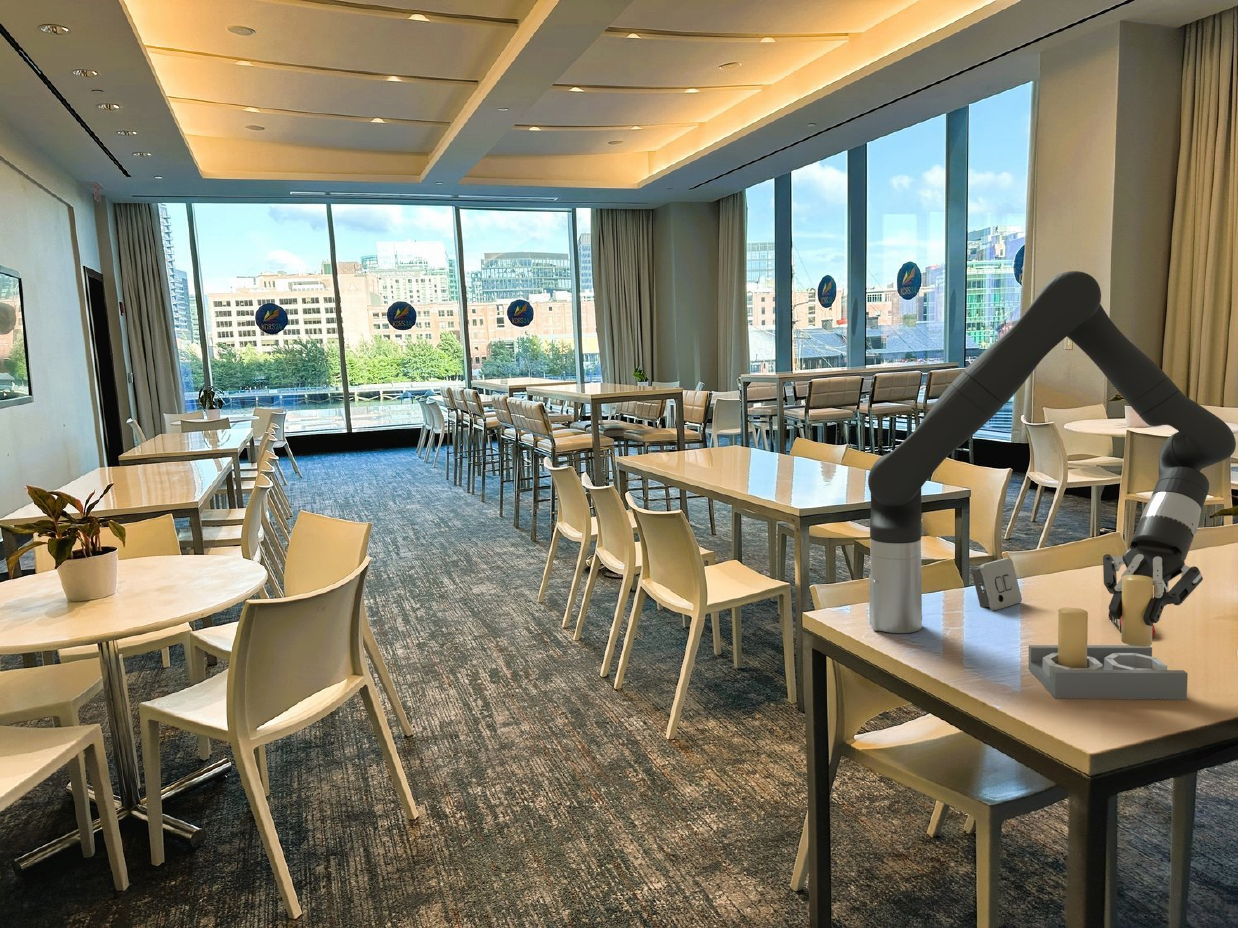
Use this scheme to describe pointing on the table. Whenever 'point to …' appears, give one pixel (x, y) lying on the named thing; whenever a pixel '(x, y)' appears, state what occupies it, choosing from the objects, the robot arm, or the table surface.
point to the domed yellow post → (1136, 610)
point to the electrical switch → (997, 584)
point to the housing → (1101, 666)
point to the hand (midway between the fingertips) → (1131, 619)
